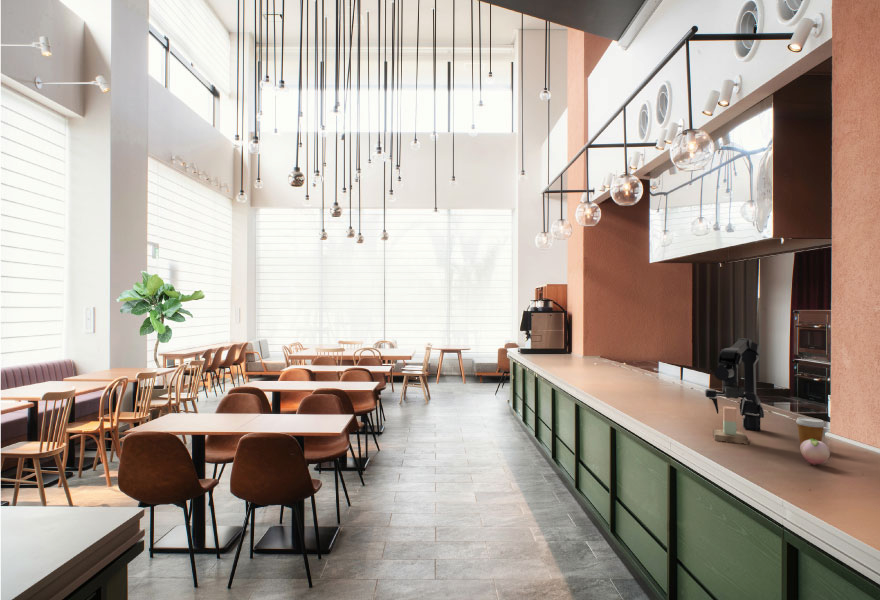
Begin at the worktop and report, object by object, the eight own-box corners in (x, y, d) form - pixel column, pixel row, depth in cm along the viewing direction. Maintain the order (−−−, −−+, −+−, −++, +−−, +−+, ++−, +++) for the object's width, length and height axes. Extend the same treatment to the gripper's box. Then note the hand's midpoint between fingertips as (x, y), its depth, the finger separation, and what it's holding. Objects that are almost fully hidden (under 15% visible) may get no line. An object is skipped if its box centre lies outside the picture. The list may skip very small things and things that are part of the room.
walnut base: (743, 437, 220) (743, 431, 220) (747, 444, 209) (748, 438, 209) (712, 434, 225) (712, 428, 225) (715, 440, 214) (715, 434, 214)
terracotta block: (735, 420, 218) (735, 407, 218) (736, 422, 214) (736, 409, 214) (723, 419, 220) (723, 406, 220) (724, 421, 216) (724, 408, 216)
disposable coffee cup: (817, 453, 197) (817, 423, 197) (790, 447, 205) (790, 418, 205) (830, 451, 201) (830, 420, 201) (803, 445, 209) (803, 416, 210)
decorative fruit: (833, 470, 176) (834, 441, 176) (806, 467, 179) (806, 439, 179) (823, 462, 185) (824, 435, 185) (797, 460, 188) (797, 433, 188)
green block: (735, 432, 218) (735, 420, 218) (736, 435, 214) (736, 422, 214) (723, 431, 220) (723, 419, 220) (724, 433, 216) (724, 421, 216)
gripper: (707, 379, 214) (706, 416, 214) (758, 382, 206) (758, 420, 206) (705, 376, 224) (704, 411, 224) (754, 379, 217) (753, 415, 216)
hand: (729, 414), depth 217 cm, fingers open, 9 cm apart
